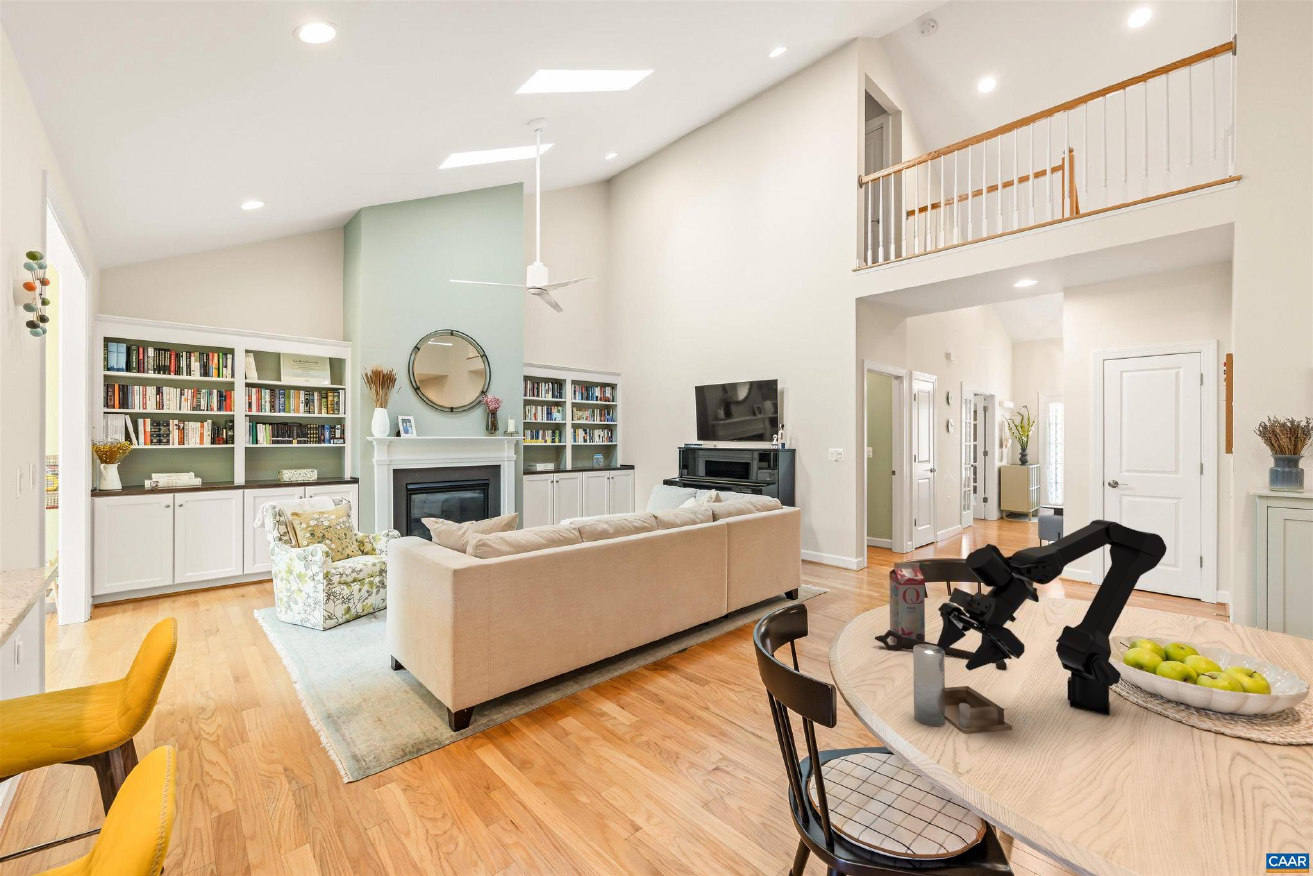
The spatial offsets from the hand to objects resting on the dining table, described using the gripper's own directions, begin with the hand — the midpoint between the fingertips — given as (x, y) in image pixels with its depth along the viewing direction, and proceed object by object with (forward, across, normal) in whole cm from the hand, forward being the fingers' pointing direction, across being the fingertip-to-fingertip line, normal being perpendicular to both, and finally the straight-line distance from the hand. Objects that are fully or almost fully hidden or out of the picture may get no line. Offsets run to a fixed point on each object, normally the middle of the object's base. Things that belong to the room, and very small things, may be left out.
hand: (951, 659), depth 115 cm
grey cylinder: (+12, 0, +5) cm, 13 cm away
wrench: (-3, -29, +20) cm, 35 cm away
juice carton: (-2, -39, +18) cm, 43 cm away
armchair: (+6, 0, +11) cm, 12 cm away
